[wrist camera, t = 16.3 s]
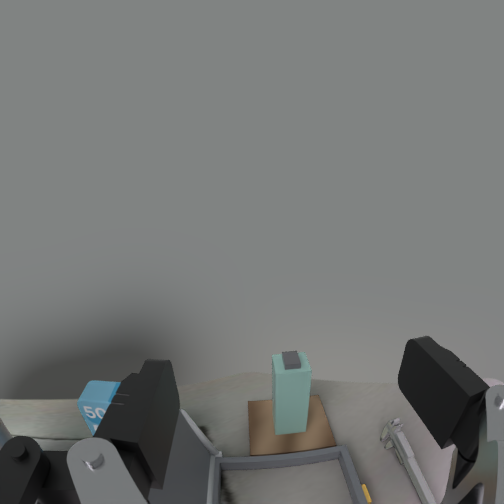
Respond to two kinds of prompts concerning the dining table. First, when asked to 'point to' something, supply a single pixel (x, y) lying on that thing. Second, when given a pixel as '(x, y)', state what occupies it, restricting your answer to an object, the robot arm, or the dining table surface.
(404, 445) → the caliper
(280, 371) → the block
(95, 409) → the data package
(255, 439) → the walnut board
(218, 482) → the equipment case
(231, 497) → the dining table surface
